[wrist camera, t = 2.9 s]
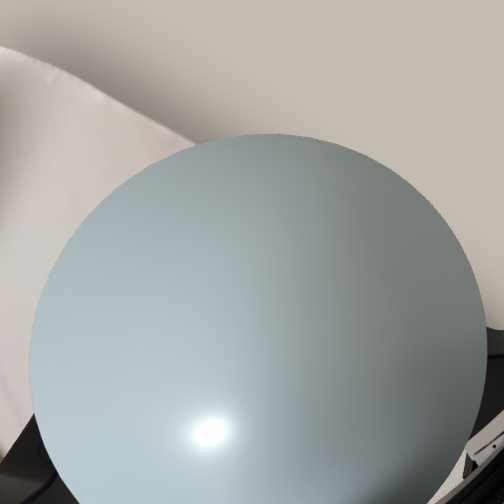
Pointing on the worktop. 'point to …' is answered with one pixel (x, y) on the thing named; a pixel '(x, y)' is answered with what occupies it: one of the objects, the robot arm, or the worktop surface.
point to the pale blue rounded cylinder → (259, 334)
